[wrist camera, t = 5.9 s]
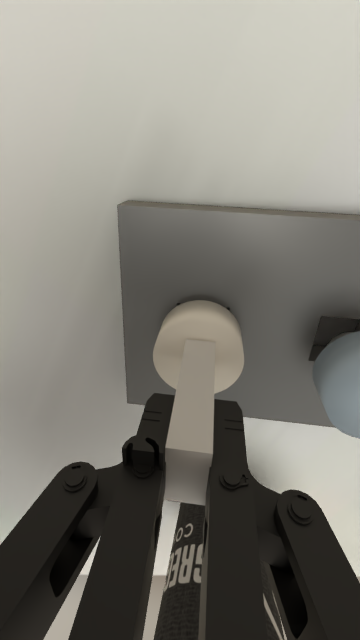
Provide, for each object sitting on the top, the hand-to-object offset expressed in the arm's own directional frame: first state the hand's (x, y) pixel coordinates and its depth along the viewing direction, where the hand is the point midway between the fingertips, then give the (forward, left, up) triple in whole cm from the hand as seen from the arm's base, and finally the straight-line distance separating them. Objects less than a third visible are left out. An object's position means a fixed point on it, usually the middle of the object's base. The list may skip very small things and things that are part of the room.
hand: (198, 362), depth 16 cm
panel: (+8, 0, -6) cm, 10 cm away
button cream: (0, 0, -5) cm, 5 cm away
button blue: (+8, 0, -3) cm, 9 cm away
